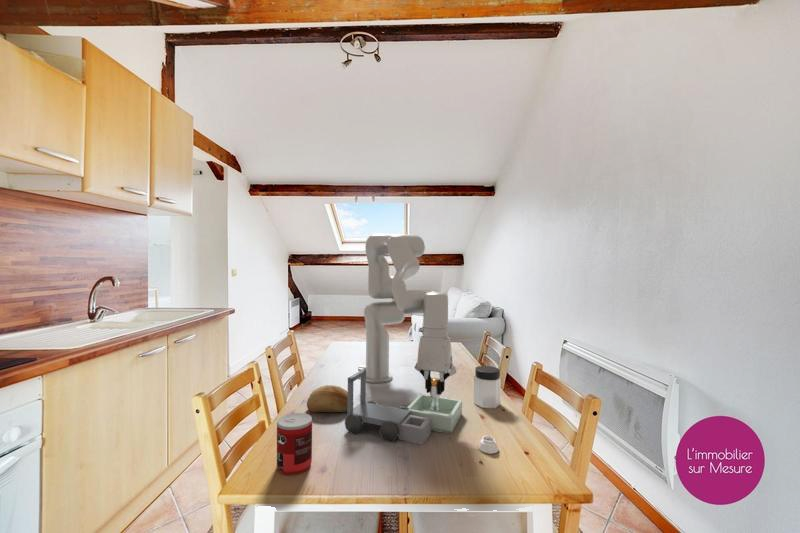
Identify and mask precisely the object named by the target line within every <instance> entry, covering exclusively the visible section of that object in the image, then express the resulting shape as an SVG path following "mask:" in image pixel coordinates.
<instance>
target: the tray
mask: <svg viewBox="0 0 800 533" xmlns="http://www.w3.org/2000/svg"><path fill="white" fill-rule="evenodd" d="M406 407H407V408H409V410H411V415H415V416H420V417H425V418H430V419H431V431H433V432H434V431H435V432H439V433H444V434H448V435H452V433H453V431H454V430H455V428H456V426H457V424H458V422H459V420H460V418H461V417H462V414H463V400H461V399H457V398H451V397H450V398H449V397H444V396H440V409H439V410H438V411H433V410H430V394H426V393H420V394H419V395H418V396H417V397H416V398H415V399H414V400H413V401H412V402H411V403H410V404H409V405H408V406H406Z"/></svg>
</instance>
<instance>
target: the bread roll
mask: <svg viewBox="0 0 800 533" xmlns="http://www.w3.org/2000/svg"><path fill="white" fill-rule="evenodd" d="M347 403H348V390H346V389H345V388H342V387H341V386H338V385H334V384H333V385H330V384H329V385H326V384H325V385H323V386H320V387H318V388H316V389H314V390H312V392H311V393H310V394H309V396H308V398H307V401H306V407H307V408H306V409H307V410H308V411H310V412H312V413H313V412H314V413H342V412H344V413H345V412H347Z"/></svg>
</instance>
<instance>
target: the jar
mask: <svg viewBox="0 0 800 533" xmlns="http://www.w3.org/2000/svg"><path fill="white" fill-rule="evenodd" d="M474 370H475V371H474V372H475V374H474V376H473V377H474V378H473V404H475V405H477V406H479V407H480V408H482V409H497V408H498V407H499V406H500V405H501V388H502V387H501V382H502V380H501V379H502V378H501V371H500V369H499V368H498V367H495V366H491V365H480V366H479V365H478V366H476V367H475V368H474Z"/></svg>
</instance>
